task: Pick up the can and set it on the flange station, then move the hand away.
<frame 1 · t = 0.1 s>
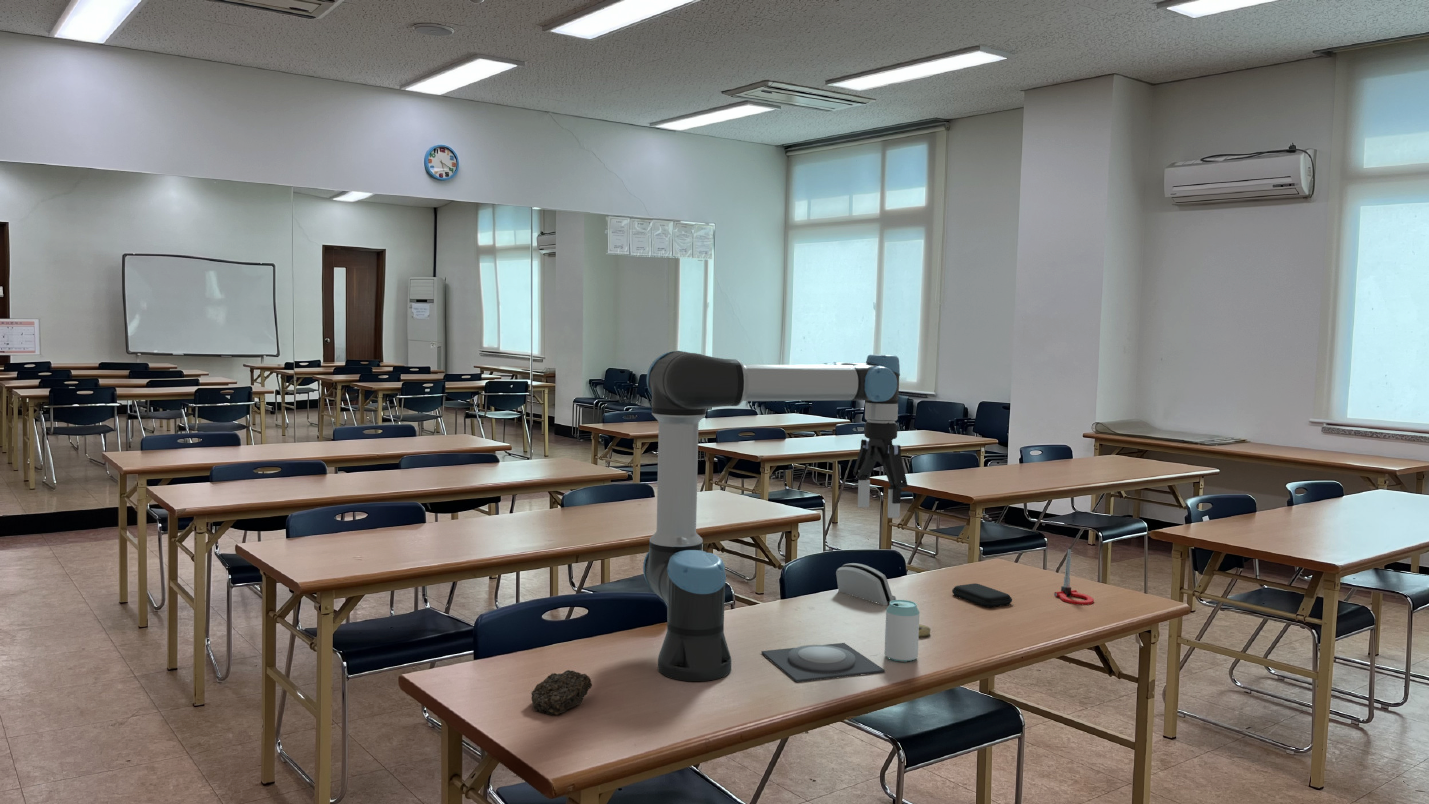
hand: (878, 512, 230), 28 cm above the table, tool pointing down, fingers open, 13 cm apart
flange station: (821, 662, 208), on the table
tow hook: (1075, 600, 262), on the table
small brass flange: (914, 633, 230), on the table
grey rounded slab: (863, 598, 259), on the table
concrete sample: (558, 705, 183), on the table
can: (900, 658, 213), on the table
carrying case or bag: (983, 601, 260), on the table
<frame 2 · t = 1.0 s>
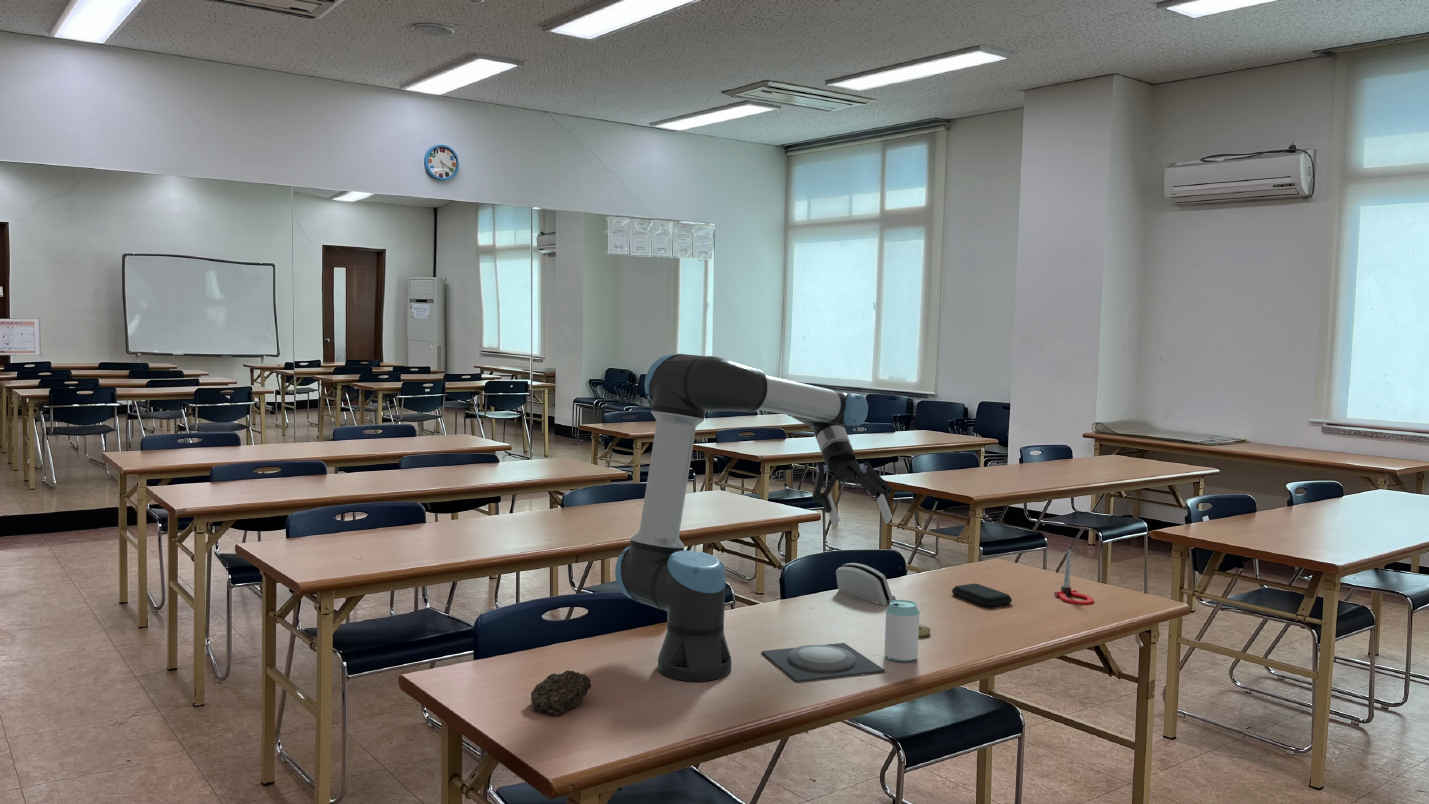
hand: (863, 521, 228), 26 cm above the table, tool tilted 45°, fingers open, 13 cm apart
nothing on the table moved.
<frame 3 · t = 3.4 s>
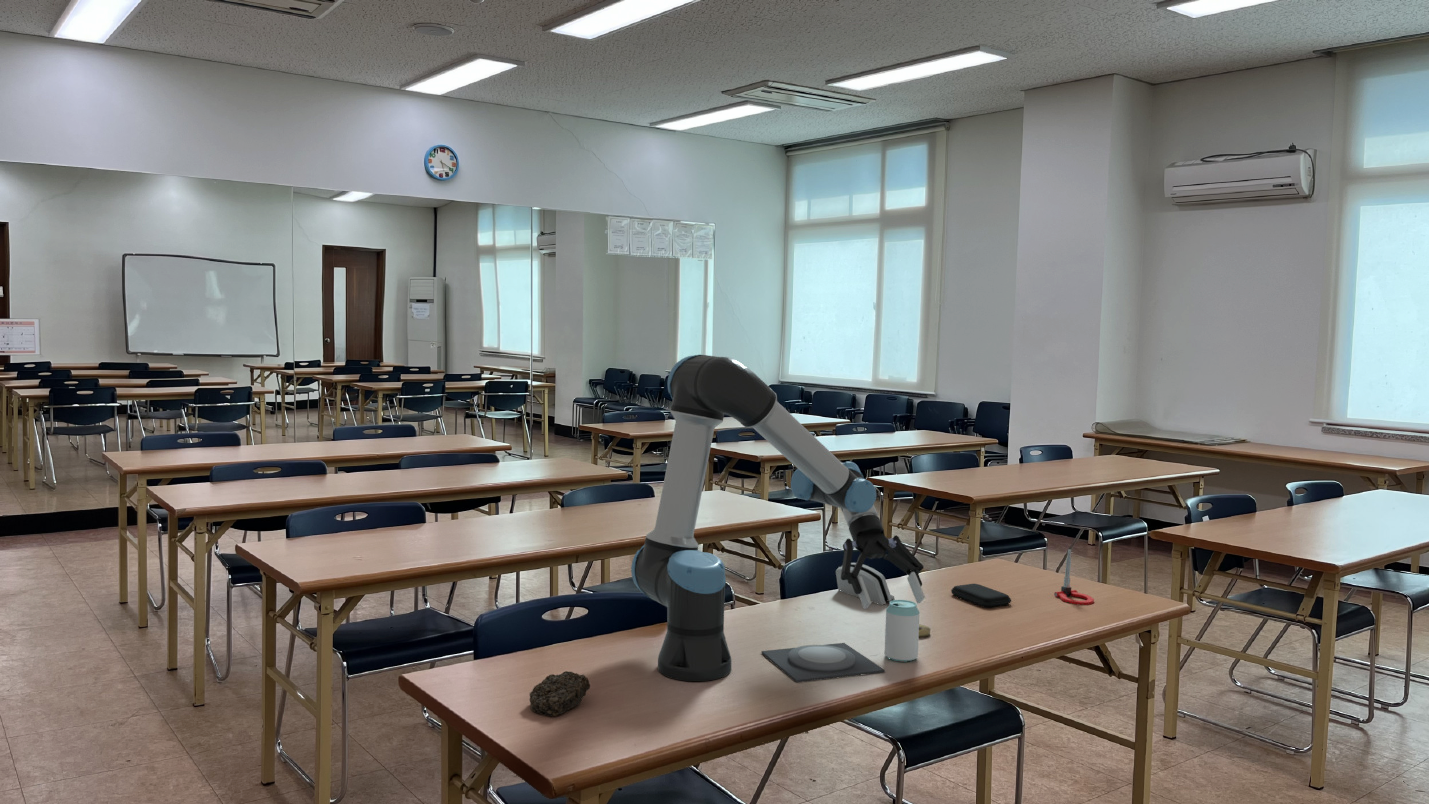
hand: (894, 603, 218), 10 cm above the table, tool tilted 45°, fingers open, 13 cm apart
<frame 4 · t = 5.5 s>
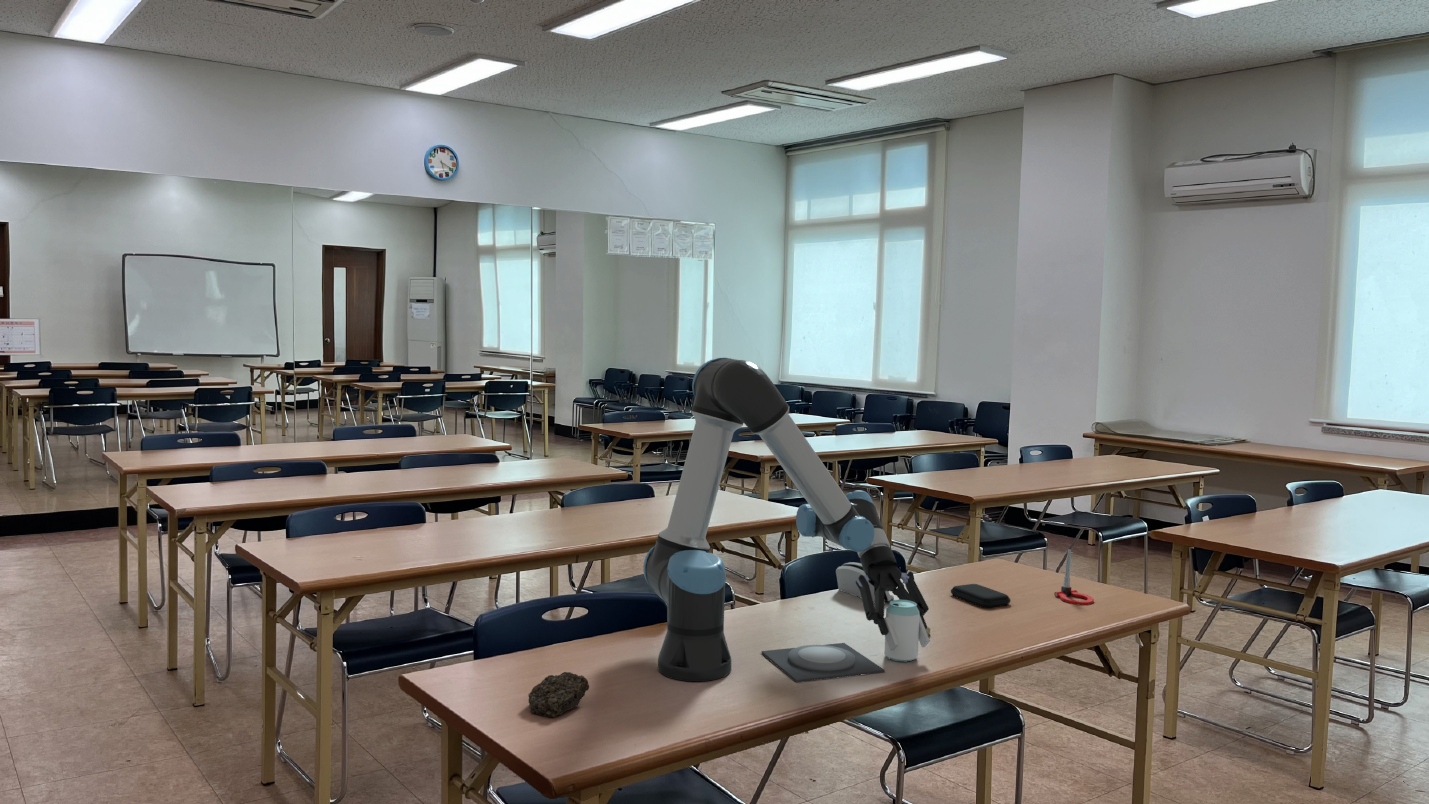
hand: (910, 645, 209), 4 cm above the table, tool tilted 45°, fingers closed on can, 7 cm apart
can: (900, 658, 213), on the table, touching gripper
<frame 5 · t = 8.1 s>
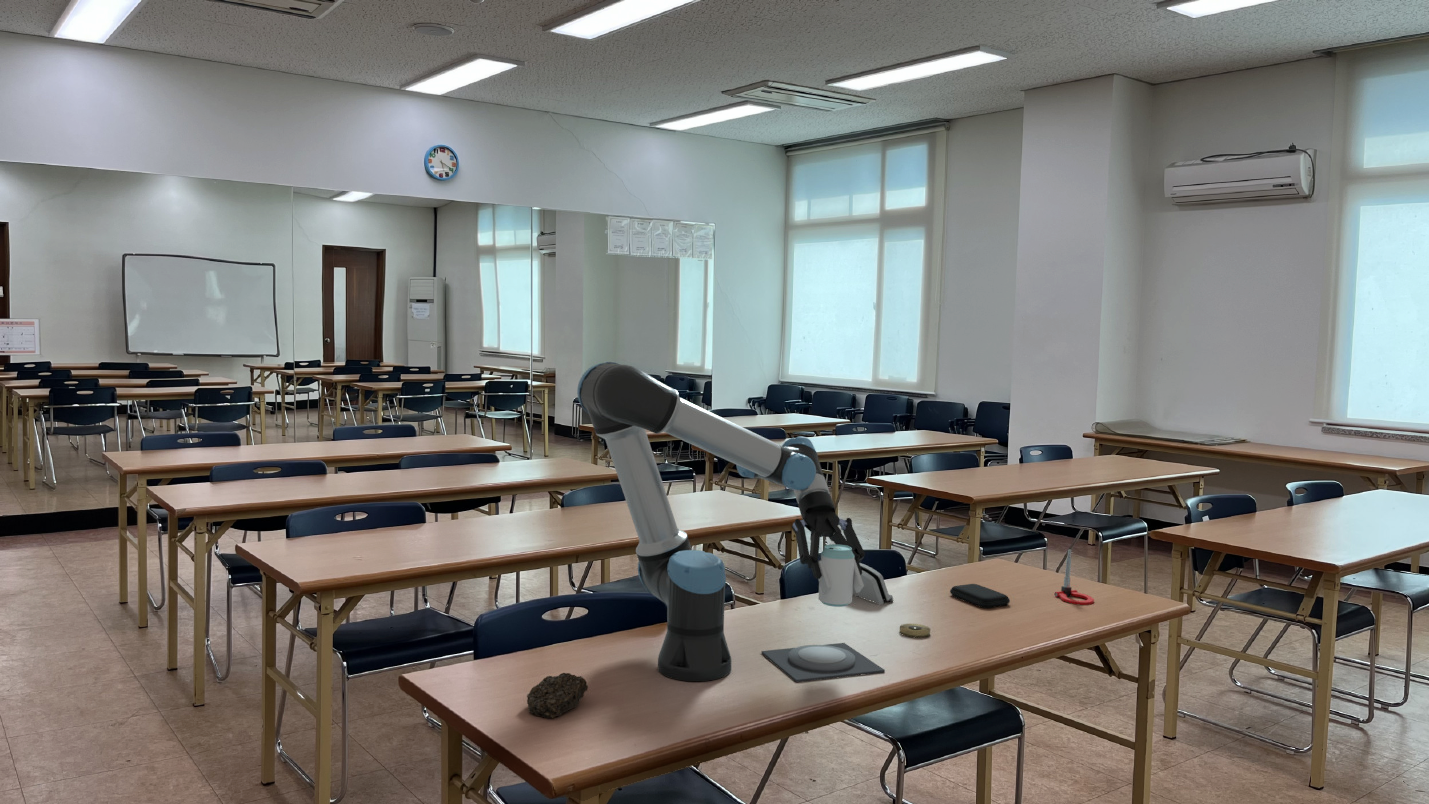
hand: (843, 590, 204), 16 cm above the table, tool tilted 45°, fingers closed on can, 7 cm apart
can: (834, 603, 208), point 12 cm above the table, touching gripper
when the fingers open (7 cm above the table, at t = 11.0 s): can drops 1 cm, resting on flange station.
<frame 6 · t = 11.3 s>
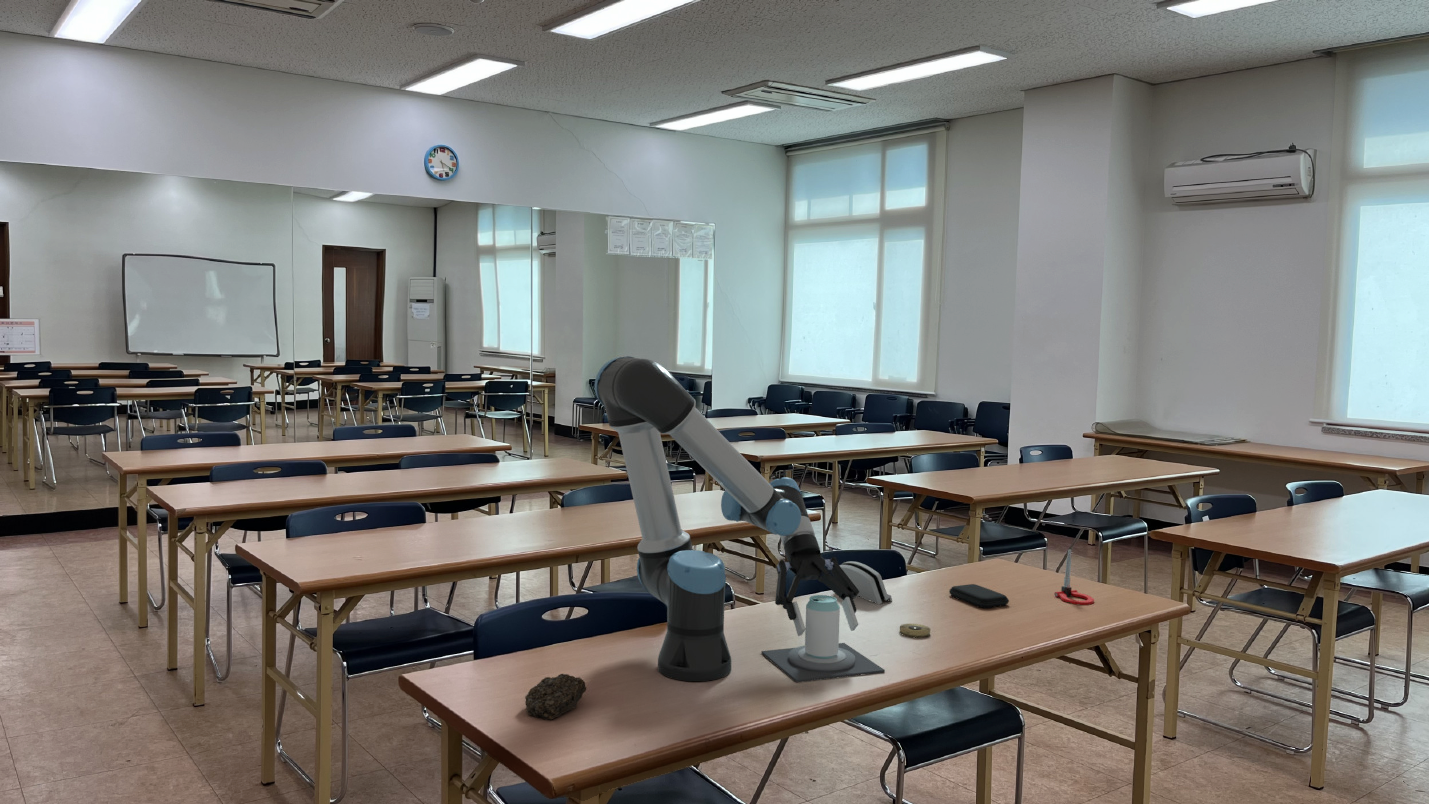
hand: (828, 630, 205), 8 cm above the table, tool tilted 45°, fingers open, 11 cm apart
can: (821, 654, 208), point 2 cm above the table, touching flange station
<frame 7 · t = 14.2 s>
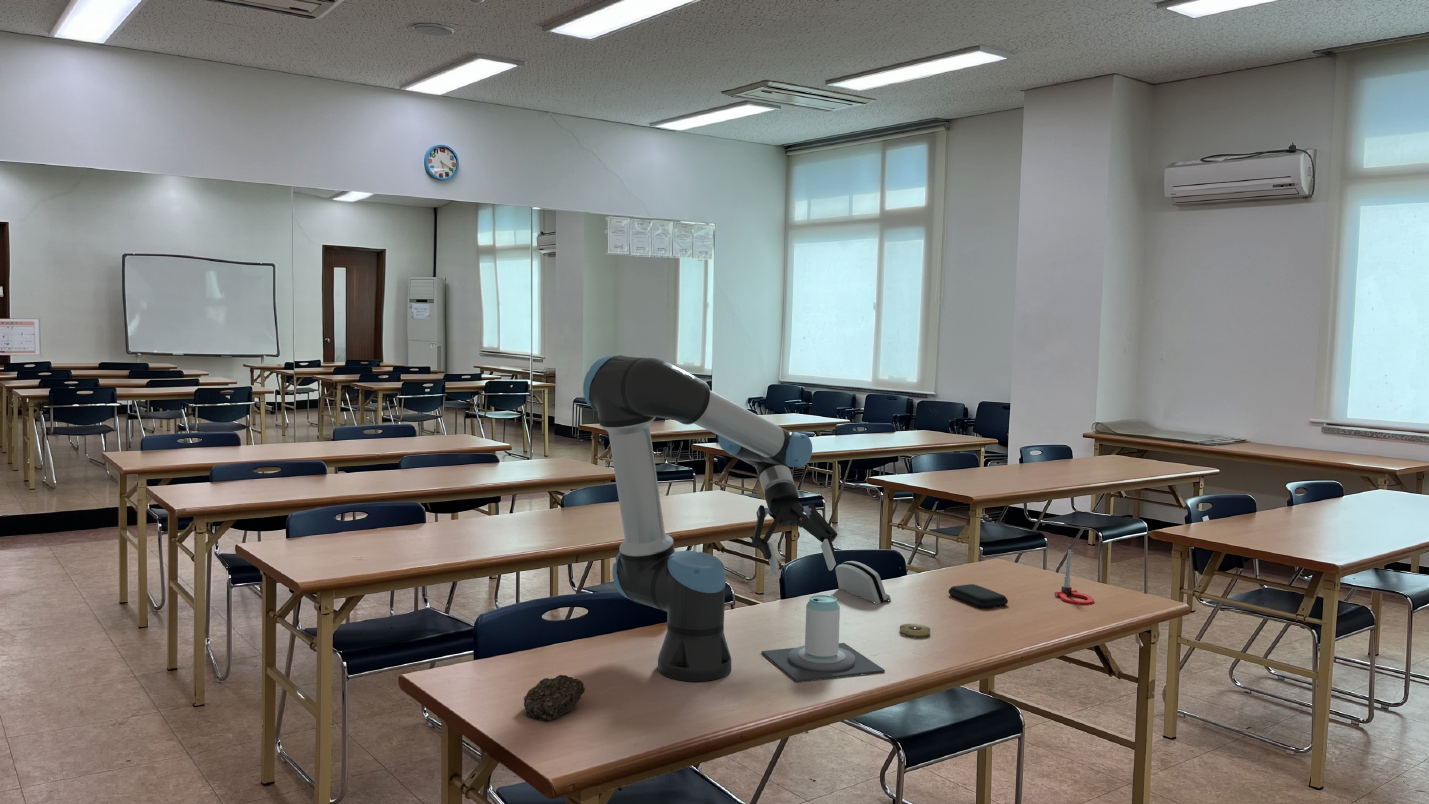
hand: (804, 569, 216), 18 cm above the table, tool tilted 45°, fingers open, 13 cm apart
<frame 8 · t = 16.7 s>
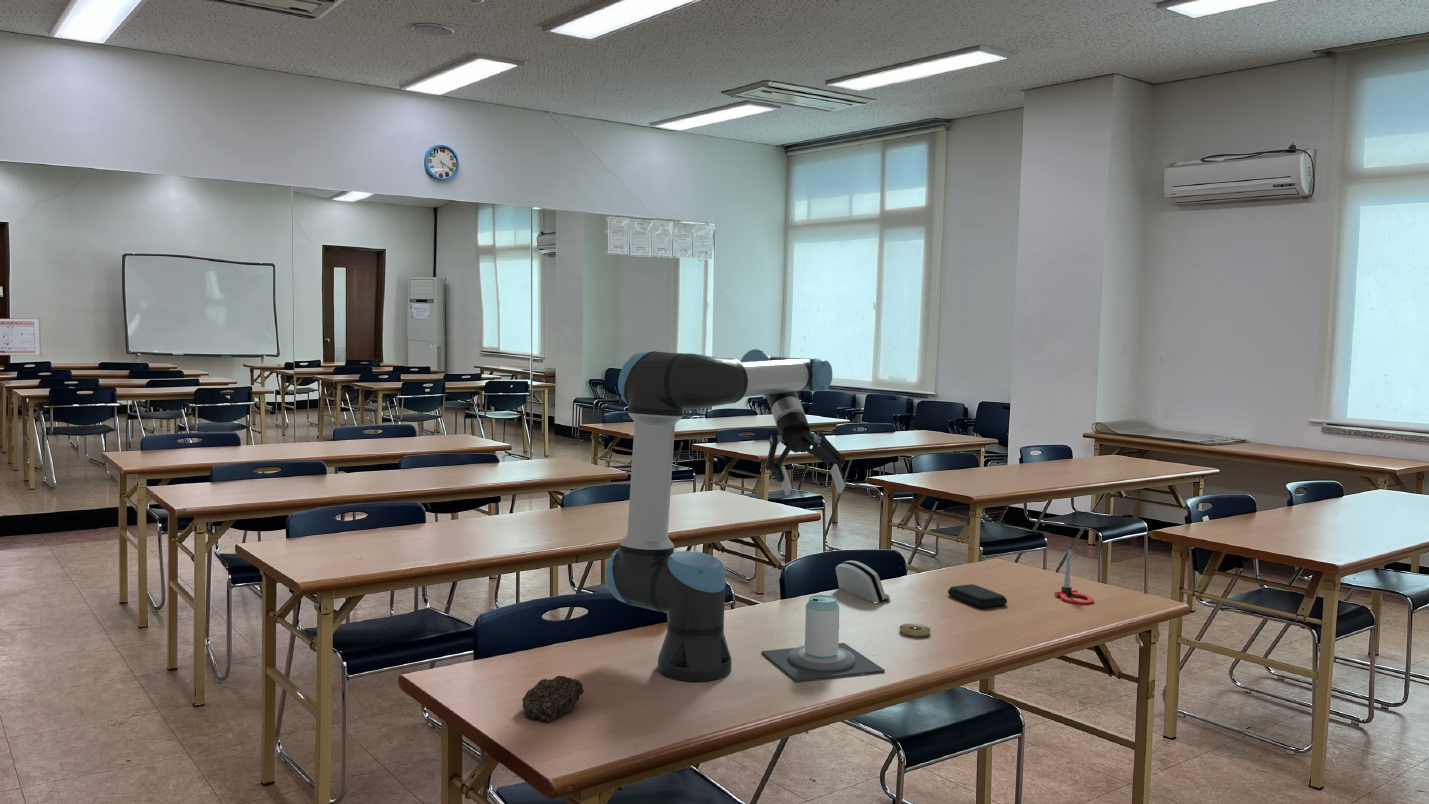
hand: (815, 491, 229), 33 cm above the table, tool tilted 45°, fingers open, 13 cm apart
at the end: can 0.1 cm off-centre on the flange station, point 1.6 cm above the flange station's base; can tilted 1°; the gripper is holding nothing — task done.
